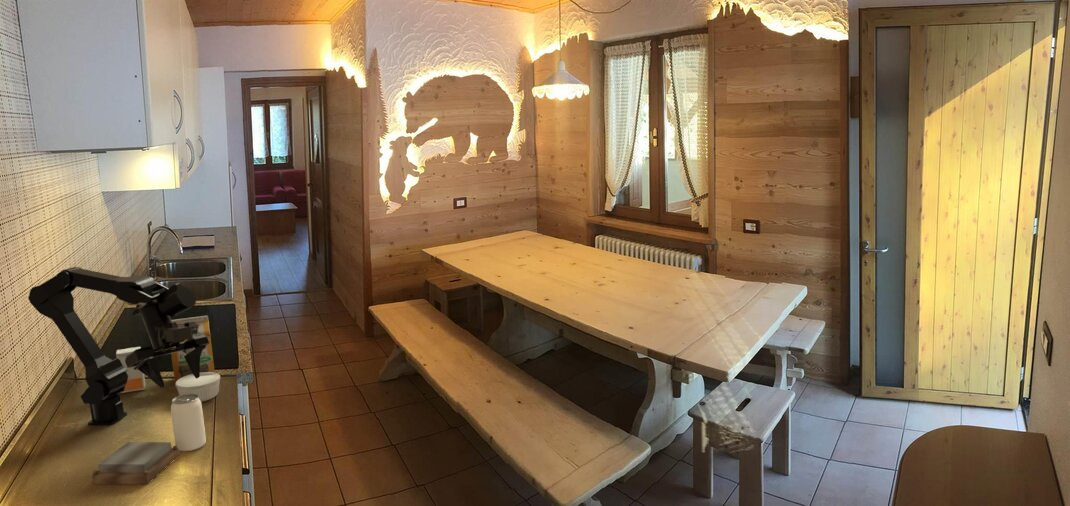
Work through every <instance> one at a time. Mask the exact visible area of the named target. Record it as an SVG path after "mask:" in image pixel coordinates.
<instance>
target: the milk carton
mask: <svg viewBox="0 0 1070 506" xmlns="http://www.w3.org/2000/svg"><path fill="white" fill-rule="evenodd" d="M209 320H210V319H209V315H201V316H195V317H194V316H193V317H187V318H186V317H185V318H178V319H171V321H172V323H174V322H176V323H177V325H178V327H183V326H184V324H185V323H186V322H191V321H195V323H196V325H197V328H198V333H197V334H193V335H192V336H193V337H195V336H200V335H205V336H206V337H207V338H208V340H209V342H210V344H208V345H207V346H206V348H205V349H204V350H203V351H202V353H201V356H200V373H202V372H213V373H216V372H215V364H214V356H213V355H214V354H213V347H212V338H211V330H210V322H209ZM187 340H188V339H186V340H184V341H183V342H180V344H181V343H184V342H185V341H187ZM171 350H173V349H171ZM170 355H171V363H172V370H173V377H174V384H175V385H174V386H175V387H176V381H177V380H179V379H180V378H182V377H184V376H187V375H191V374H193V373H192V371H191V369H190V367H189V365H188V364H187V362H186V360H185V358H184V356H185V355H187V354H186V353H184V352H183V351H180V352H176V353H171V354H170Z"/></svg>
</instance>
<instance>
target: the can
mask: <svg viewBox="0 0 1070 506" xmlns="http://www.w3.org/2000/svg"><path fill="white" fill-rule="evenodd" d="M198 397H199V396H198V395H196V394H186V395H181V396H179V395H178V396H176V397H174V398H173V399H171V406H170V413H171V414H170V415H171V416H170V417H171V423H172V430H173V435H174V443H175V444H174V446H177V448H178V449H179V452H181V451H186V452H187V453H188V451H189V452H194V451H197V450H199V449H201V448H203V447H204V446H205V444H206V442H207V438H206V429H205V422H204V421H205V420H204V413H203V412H204V411H203V407H202V406H203V405H202V402H201V401H200V399H199V398H198ZM186 452H185V453H186Z"/></svg>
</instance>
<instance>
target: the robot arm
mask: <svg viewBox="0 0 1070 506" xmlns="http://www.w3.org/2000/svg"><path fill="white" fill-rule="evenodd" d="M77 288H82V289H85V290H86V289H87V290H92V291H97V292H101V293H105V294H111V295H113V296H115V297H116V298H117V299H118V300H119V301H122V302H124V303H126V304H130V305H135V308H134V310H133V311H132V313H131V314H132V315H133V316H141V318H142V320H143V323H144V324H143V325H144V326H145V329H146V333H145V334H144V335H145V338H146V339H148V338H149V339H150V344H151V345H152V347H151V346H145V347H141V348H140V349H136V350H134V351H133V352H132V353H130V354H129V355H127V356H126V359H125V362H126V365H127V368H131V367H134V370H139V371H141V372H142V373H143V374H144V376H145V377H147V378H148V379H150V380H151V381H152V382H153V383H154V384H155V385H156V386H158V387H159V388H160V389H164V388H165V382H164V379H163V376H162V374H161V372H160V369H159V367H158V357H162V356H167V355H171V353H176V352H180V351H183V352H184V353H186V354H187V355H185V356H184V358H185V360H186V362H187V364H188V365H189V367H190V369H191V371H192V373H193V375H194V376H195V378H196V379H197V378H199V377H200V356H201V353H202V351H203V350H204V349H205V348H206V346H207V345H208V344H210V342H209V340H208V338H207V337H206V336H205V335H200V336H195V337H193V336H192V335H193V334H197V333H198V328H197V325H196V323H195V321H191V322H186V323H185V324H184V326H183V327H178V325H177V323H176V322H174V323H172V321H171V320H172V318H171V317H177V316H178V315H180V314H182V313H184V312H185V311H188V310H189V309H191V308H193V307H195V305H196V303H197V298H196V295H195V294H194V292H193V291H192V290H190V289H189V288H188V287H186V286H183V285H182V283H181V282H177V283H175V284H172V285H171V286H170V287H167V286H165V285H163V284H161V283H159V282H157V281H156V280H155V278H154V277H152V276H149V275H148V276H146V275H134V276H120V275H114V274H111V273H109V274H108V273H103V272H99V271H96V270H89V269H84V268H82V267H80V266H73V267H68V268H66V269H63V270H60V271H59V272H58V273H57V274H56V275H55V276H53V277H51V278H49V279H48V280H46V281H44V282H43V283H41V284H40V285H37V286H34V287H31V289H30V291H29V292H28V296H27V297H28V301H29V303H30V304H31V306H32V307H34V309H35V310H36V311H37V312H38V313H39V314H41V315H43V316H44V317H46V318H47V319H50V320H52V321H53V322H54V323H55V325H56V326H57V328H58V329H59V331H60V332H61V334H62V335H63V337H64V338H65V340H66V341H67V343H68V344H69V346H70V347H71V349H72V350H73V351H74V353H75V354H76V355H77V357H78V359H79V360H80V362H81V363H82V364H83V366H84V368H85V369H84V370H85V375H84V376H85V381H86V384H87V385H88V387H87V388H86V389H85V390H84V392H83V393H82V394H81V395H80V398H81V400H82V402H83V404H85V405H86V404H88V405H89V409H90V411H89V412H90V416H91V419H90V420H89V421H88V422H87V425H88V426H89V425H90V426H93V425H100V426H101V425H104V426H105V425H106V426H107V425H113V424H116V422H118V421H119V420H120V419H123V417H124V418H125V416H127V415H128V412H126V411H125V410H124V404H123V400H122V399H121V395H120V393H121V392H123V391H124V389H125V385H126V383H127V380H128V375H127V373H126V371H127V369H126V368H124V366H123V365H122V363H121V361H120V360H119V359H118V358H114V359H111V358H109V357H108V356H106V355H105V353H104V352H103V350H102V349H101V348H100V346H99V345H98V343H97V342H96V341H95V339H94V338H93V336H92V334H91V333H90V332H89V330H88V328H87V327H86V326H85V324H84V322H83V321H82V320H81V318H80V317H79V315H78V314H77V312H76V311H75V307H74V305H75V303H74V302H75V299H74V295H73V294H72V292H74V291H75V290H76V289H77ZM140 303H142V304H140ZM186 339H188V340H187V341H185V342H184V343H181V344H180V342H183V341H184V340H186ZM171 349H173V350H171ZM135 366H136V367H135ZM121 394H122V393H121Z"/></svg>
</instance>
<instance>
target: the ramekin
mask: <svg viewBox="0 0 1070 506" xmlns="http://www.w3.org/2000/svg"><path fill="white" fill-rule="evenodd" d="M220 381H221V375H220V374H219V373H217V372H215V373H213V372H202V373H200V377H199V378H197V379H196V378H195V376H194V375H193V374H191V375H187V376H184V377H182V378H180V379H179V380H177V381H176V386H175V389H176V390H177V392H178V396H181V395H186V394H196V395H198V396H199V397H198V398H199V399H200V401H201V403H202V402H206V401H208V400H209V401H210V400H211V399H213V398H215V397H216V396H217V395H218V394H219V391H220Z"/></svg>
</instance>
